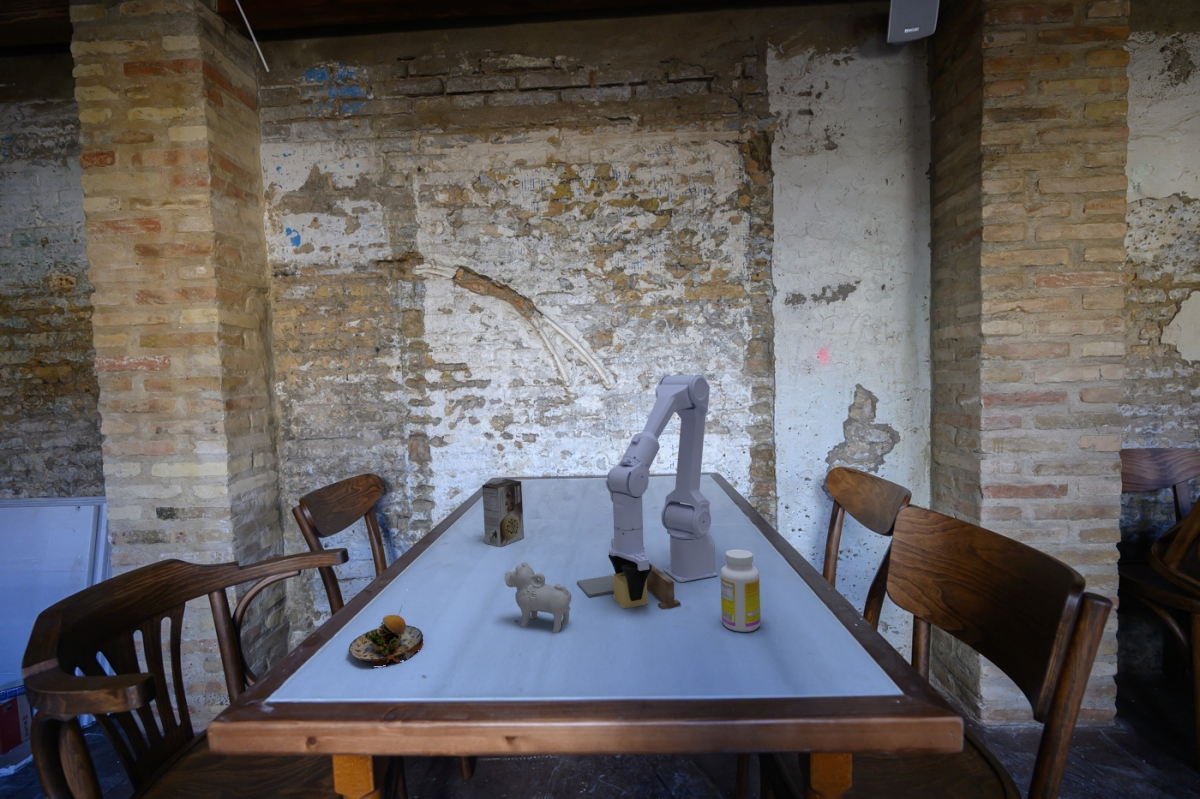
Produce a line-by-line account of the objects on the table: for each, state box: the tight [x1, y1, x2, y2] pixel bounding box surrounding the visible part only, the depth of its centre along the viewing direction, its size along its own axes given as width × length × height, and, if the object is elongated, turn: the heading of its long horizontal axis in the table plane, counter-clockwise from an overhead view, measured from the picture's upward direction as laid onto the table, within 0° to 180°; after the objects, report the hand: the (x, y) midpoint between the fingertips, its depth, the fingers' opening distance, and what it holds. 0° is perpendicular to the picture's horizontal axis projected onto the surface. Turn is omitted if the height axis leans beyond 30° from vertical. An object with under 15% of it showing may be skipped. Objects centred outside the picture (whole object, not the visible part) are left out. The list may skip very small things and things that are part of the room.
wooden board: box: [647, 562, 682, 610], centre depth 112 cm, size 12×4×5 cm, turn 20°
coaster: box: [576, 574, 614, 599], centre depth 117 cm, size 8×8×1 cm
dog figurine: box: [504, 561, 572, 634], centre depth 102 cm, size 5×13×11 cm, turn 69°
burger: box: [348, 606, 424, 668], centre depth 94 cm, size 12×12×8 cm
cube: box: [612, 573, 648, 609], centre depth 110 cm, size 5×5×5 cm
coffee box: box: [481, 478, 525, 548], centre depth 151 cm, size 9×6×16 cm
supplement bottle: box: [720, 549, 761, 633], centre depth 98 cm, size 7×7×13 cm
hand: (630, 594), depth 110 cm, fingers closed on cube, 5 cm apart
